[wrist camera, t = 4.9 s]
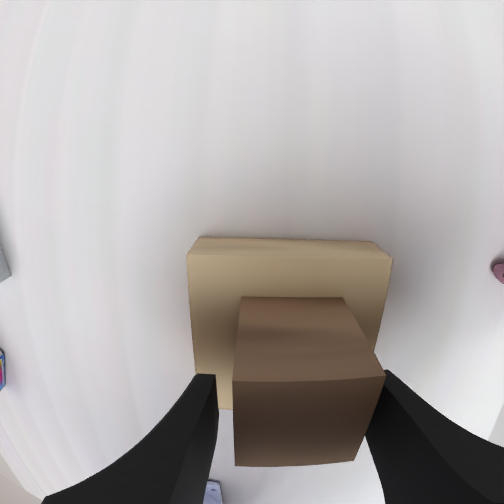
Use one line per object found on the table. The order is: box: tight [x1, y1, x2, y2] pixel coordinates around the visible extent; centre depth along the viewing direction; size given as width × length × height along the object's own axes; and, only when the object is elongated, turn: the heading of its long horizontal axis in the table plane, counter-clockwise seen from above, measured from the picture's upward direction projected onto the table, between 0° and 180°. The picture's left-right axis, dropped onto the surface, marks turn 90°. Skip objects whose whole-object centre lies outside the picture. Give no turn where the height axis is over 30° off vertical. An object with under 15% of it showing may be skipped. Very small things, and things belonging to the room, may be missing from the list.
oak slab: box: [187, 237, 393, 410], centre depth 14 cm, size 8×8×3 cm
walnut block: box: [232, 296, 386, 467], centre depth 10 cm, size 4×4×5 cm
